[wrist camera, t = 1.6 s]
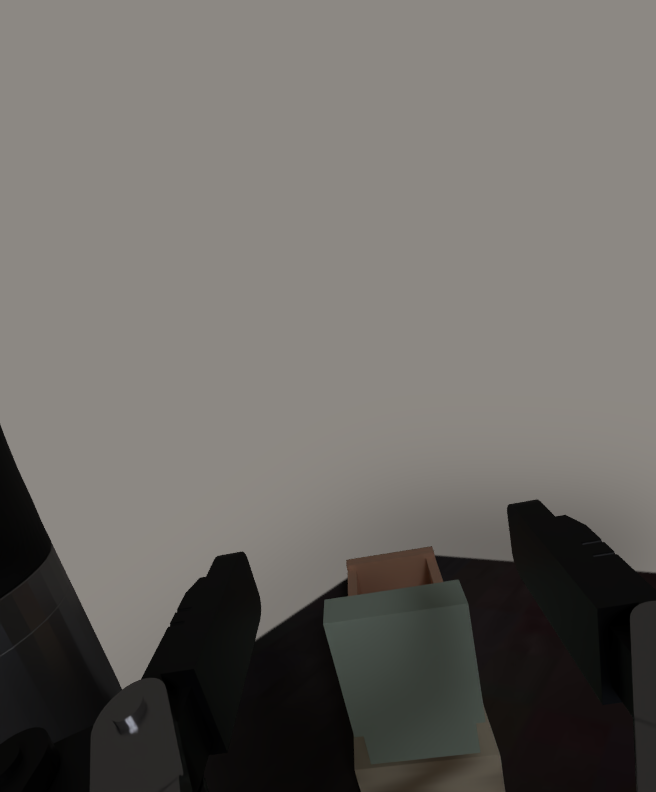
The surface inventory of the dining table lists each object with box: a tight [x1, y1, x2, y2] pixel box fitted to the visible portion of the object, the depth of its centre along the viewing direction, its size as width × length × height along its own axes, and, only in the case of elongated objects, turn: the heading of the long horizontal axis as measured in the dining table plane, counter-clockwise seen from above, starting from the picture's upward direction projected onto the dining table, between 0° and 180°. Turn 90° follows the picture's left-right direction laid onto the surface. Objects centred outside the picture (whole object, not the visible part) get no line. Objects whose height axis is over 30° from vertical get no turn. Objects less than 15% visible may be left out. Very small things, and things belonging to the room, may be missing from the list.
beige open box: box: [354, 706, 505, 792], centre depth 26 cm, size 8×9×4 cm
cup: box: [346, 546, 443, 596], centre depth 33 cm, size 8×6×6 cm
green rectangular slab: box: [323, 580, 486, 764], centre depth 21 cm, size 7×2×10 cm, turn 88°
